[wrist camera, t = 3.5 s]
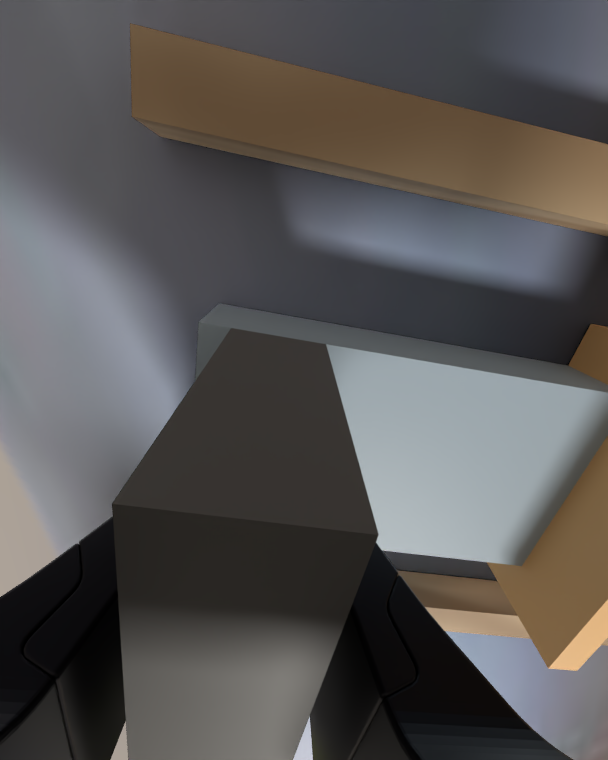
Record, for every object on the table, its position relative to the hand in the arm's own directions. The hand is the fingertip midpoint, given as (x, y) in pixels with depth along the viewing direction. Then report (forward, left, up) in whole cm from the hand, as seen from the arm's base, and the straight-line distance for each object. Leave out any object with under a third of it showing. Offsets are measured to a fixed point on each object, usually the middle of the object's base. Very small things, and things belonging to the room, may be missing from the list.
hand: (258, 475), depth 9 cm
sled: (0, -4, -3) cm, 6 cm away
